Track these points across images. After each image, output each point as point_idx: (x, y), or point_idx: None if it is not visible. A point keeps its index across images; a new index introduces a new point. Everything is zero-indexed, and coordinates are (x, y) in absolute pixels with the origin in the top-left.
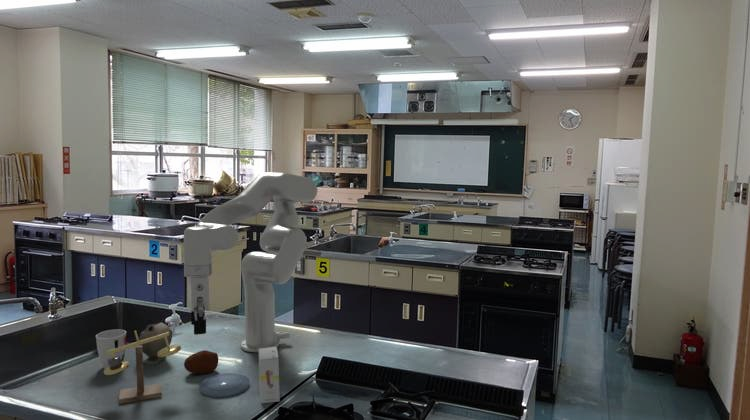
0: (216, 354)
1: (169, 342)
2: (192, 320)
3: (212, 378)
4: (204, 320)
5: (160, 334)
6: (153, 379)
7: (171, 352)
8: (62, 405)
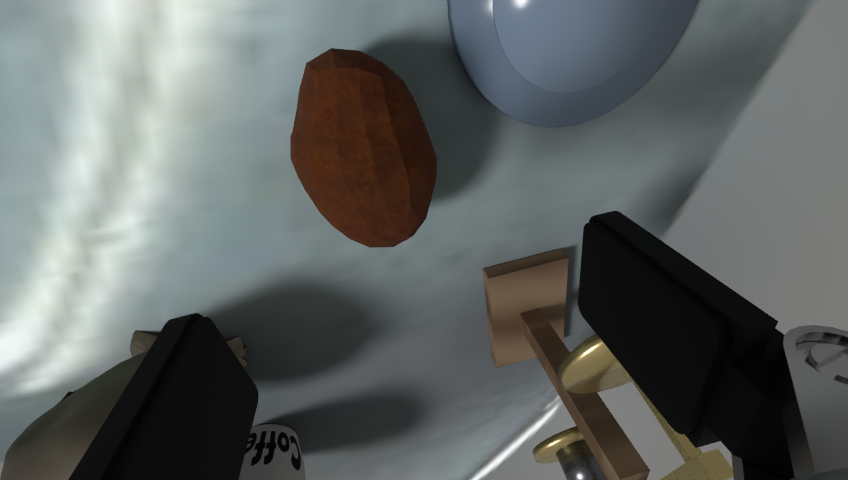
0: (360, 65)
1: None
2: (245, 433)
3: (502, 70)
4: (756, 331)
5: None
6: (402, 309)
7: None
8: (511, 430)
